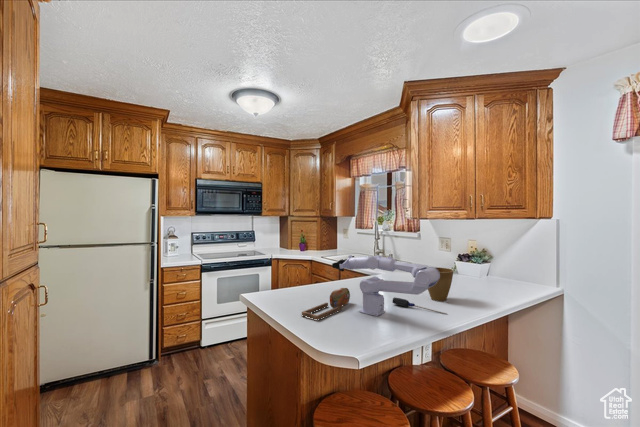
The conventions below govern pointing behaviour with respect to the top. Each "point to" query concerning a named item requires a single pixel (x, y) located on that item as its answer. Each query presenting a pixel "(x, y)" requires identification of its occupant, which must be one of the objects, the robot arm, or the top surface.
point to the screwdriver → (410, 304)
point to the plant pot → (441, 285)
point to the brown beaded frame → (308, 313)
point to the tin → (339, 297)
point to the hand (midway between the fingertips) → (337, 264)
